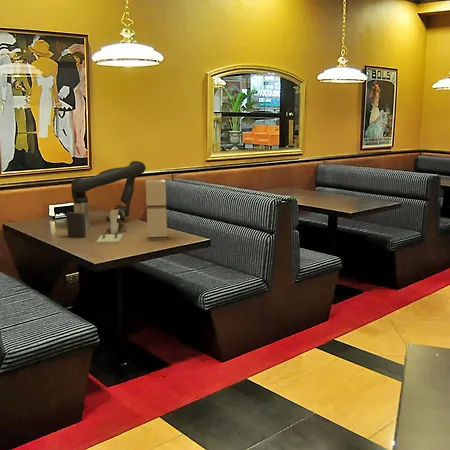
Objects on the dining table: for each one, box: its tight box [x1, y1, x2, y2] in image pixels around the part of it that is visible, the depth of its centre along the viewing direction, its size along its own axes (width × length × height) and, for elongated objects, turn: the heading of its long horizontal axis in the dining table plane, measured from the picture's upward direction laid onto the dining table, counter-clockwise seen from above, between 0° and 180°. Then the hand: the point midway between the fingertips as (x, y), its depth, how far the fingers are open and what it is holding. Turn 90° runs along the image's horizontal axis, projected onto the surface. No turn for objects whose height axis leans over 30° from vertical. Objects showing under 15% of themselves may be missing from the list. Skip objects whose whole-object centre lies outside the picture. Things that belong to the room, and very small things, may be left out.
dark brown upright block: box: [65, 211, 87, 239], centre depth 338 cm, size 11×4×15 cm, turn 71°
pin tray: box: [95, 229, 124, 244], centre depth 330 cm, size 13×18×5 cm
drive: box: [109, 209, 120, 234], centre depth 347 cm, size 4×6×14 cm, turn 2°
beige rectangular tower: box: [145, 179, 168, 241], centre depth 331 cm, size 11×11×35 cm
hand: (113, 221), depth 344 cm, fingers closed on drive, 4 cm apart
